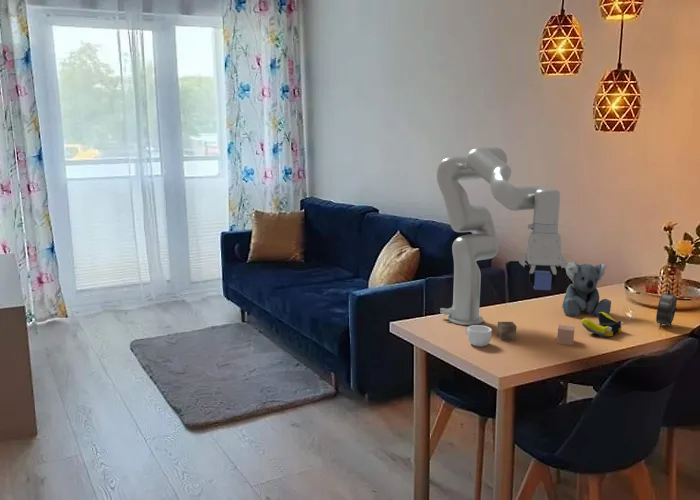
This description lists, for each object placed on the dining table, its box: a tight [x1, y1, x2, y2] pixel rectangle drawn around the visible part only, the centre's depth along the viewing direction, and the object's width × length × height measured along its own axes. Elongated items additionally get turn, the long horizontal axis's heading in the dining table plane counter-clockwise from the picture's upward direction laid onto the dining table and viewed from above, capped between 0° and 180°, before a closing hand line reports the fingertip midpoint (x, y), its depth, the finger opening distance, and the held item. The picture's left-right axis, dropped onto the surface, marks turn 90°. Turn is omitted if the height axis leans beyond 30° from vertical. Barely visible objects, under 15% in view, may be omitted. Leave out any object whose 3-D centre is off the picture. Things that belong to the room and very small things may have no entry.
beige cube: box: [556, 324, 576, 346], centre depth 217 cm, size 5×5×5 cm
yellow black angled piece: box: [581, 312, 624, 338], centre depth 227 cm, size 15×6×10 cm
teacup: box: [464, 324, 493, 348], centre depth 215 cm, size 10×8×5 cm
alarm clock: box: [655, 282, 678, 330], centre depth 233 cm, size 11×5×16 cm, turn 145°
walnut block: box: [496, 321, 517, 341], centre depth 221 cm, size 5×5×5 cm
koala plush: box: [561, 261, 612, 317], centre depth 252 cm, size 17×18×20 cm
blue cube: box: [532, 270, 552, 291], centre depth 207 cm, size 5×5×5 cm
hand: (541, 285), depth 207 cm, fingers closed on blue cube, 4 cm apart
